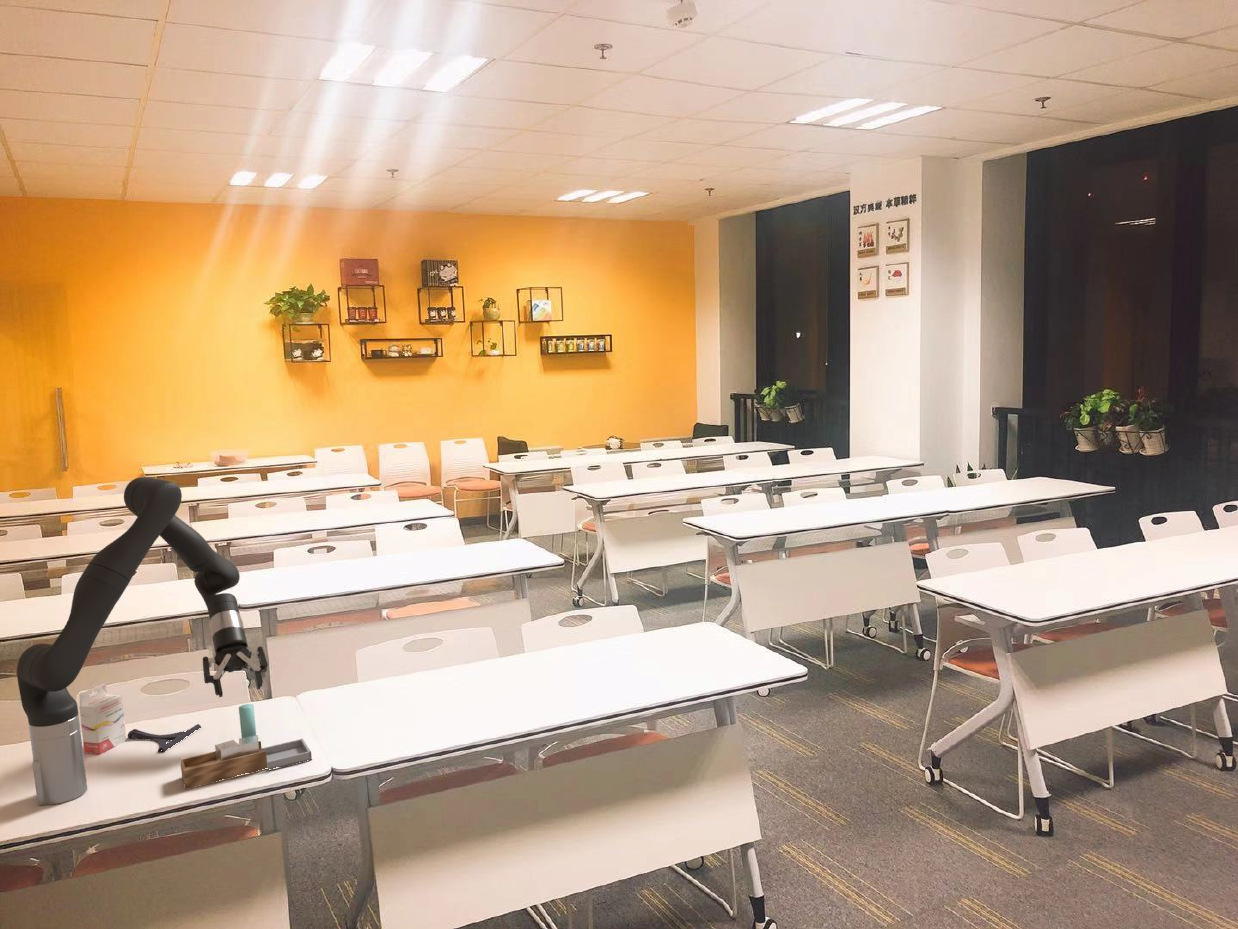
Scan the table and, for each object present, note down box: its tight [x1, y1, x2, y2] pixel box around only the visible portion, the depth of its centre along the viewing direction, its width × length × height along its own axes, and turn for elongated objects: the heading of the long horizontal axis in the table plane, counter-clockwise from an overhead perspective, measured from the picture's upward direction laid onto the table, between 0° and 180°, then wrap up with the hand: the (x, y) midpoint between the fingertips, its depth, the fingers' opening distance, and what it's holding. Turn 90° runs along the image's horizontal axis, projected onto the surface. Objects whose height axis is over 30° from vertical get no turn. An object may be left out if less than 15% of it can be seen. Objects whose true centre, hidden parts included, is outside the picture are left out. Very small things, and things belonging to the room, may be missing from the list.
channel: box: [179, 740, 268, 790], centre depth 213 cm, size 17×7×4 cm, turn 120°
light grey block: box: [214, 739, 240, 762], centre depth 213 cm, size 4×4×4 cm
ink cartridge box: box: [78, 682, 127, 755], centre depth 230 cm, size 9×5×15 cm, turn 164°
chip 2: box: [238, 734, 259, 757], centre depth 215 cm, size 4×4×4 cm
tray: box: [261, 738, 313, 771], centre depth 219 cm, size 10×9×2 cm
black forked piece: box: [127, 723, 202, 753], centre depth 234 cm, size 14×15×3 cm
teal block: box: [238, 703, 257, 738], centre depth 221 cm, size 3×5×12 cm, turn 30°
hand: (240, 691), depth 226 cm, fingers open, 8 cm apart
